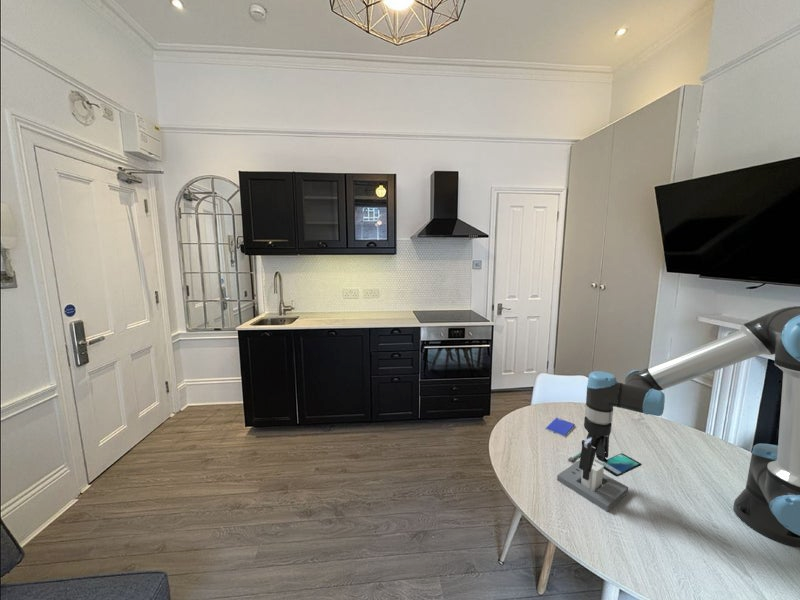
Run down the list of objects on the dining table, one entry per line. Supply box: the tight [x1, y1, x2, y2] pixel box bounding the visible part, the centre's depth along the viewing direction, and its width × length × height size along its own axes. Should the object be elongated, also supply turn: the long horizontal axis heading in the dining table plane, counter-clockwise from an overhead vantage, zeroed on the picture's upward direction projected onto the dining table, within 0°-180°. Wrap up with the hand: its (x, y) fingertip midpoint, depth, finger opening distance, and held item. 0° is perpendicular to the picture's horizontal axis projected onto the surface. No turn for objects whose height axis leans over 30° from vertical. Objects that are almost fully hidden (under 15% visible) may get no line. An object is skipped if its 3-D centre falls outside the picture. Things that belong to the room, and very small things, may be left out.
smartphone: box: [604, 452, 641, 477], centre depth 117 cm, size 7×1×15 cm
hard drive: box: [544, 417, 576, 438], centre depth 142 cm, size 2×8×12 cm
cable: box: [567, 451, 581, 463], centre depth 123 cm, size 1×13×1 cm, turn 123°
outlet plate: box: [556, 460, 629, 512], centre depth 107 cm, size 16×14×2 cm
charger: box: [580, 460, 604, 492], centre depth 106 cm, size 4×4×8 cm
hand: (592, 482), depth 106 cm, fingers open, 7 cm apart
